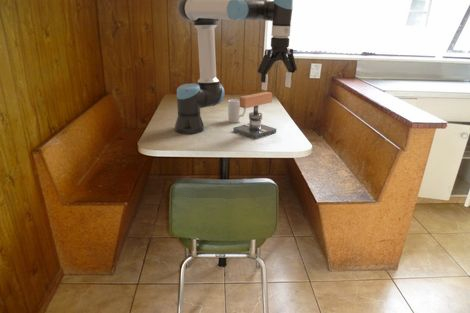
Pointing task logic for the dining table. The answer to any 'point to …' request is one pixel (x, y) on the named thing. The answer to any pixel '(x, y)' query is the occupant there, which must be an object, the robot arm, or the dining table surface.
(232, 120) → the mug
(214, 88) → the robot arm
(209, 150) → the dining table surface
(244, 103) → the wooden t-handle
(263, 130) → the base
